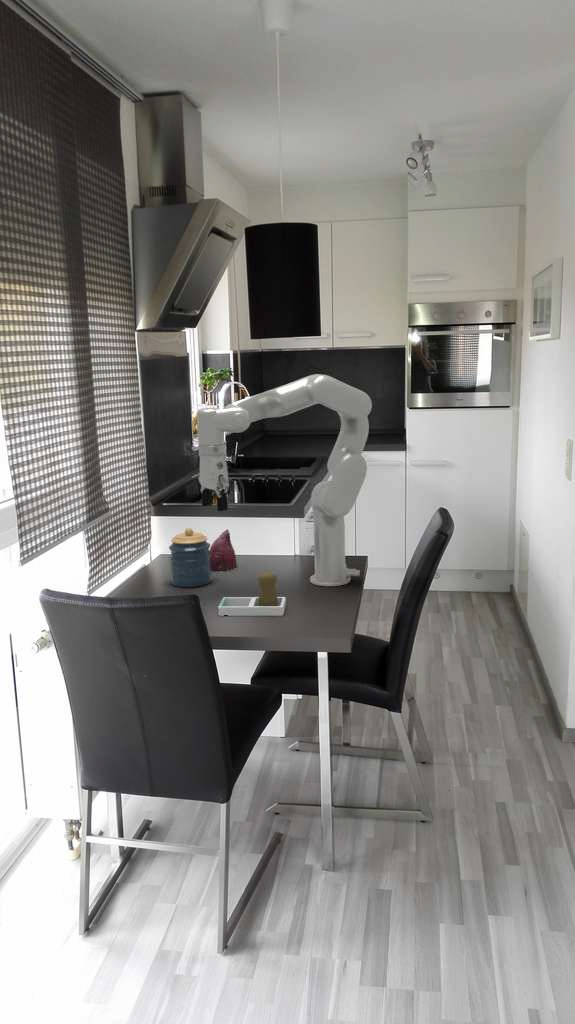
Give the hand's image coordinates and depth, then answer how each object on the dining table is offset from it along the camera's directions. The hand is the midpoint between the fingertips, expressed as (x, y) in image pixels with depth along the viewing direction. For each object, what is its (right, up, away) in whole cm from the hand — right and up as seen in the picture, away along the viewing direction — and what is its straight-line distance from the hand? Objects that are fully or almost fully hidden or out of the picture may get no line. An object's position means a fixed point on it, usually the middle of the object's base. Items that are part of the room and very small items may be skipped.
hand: (214, 507), depth 245 cm
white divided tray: (+12, -29, -12) cm, 33 cm away
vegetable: (-1, -20, +34) cm, 39 cm away
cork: (+16, -29, -12) cm, 36 cm away
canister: (-9, -24, +18) cm, 31 cm away
